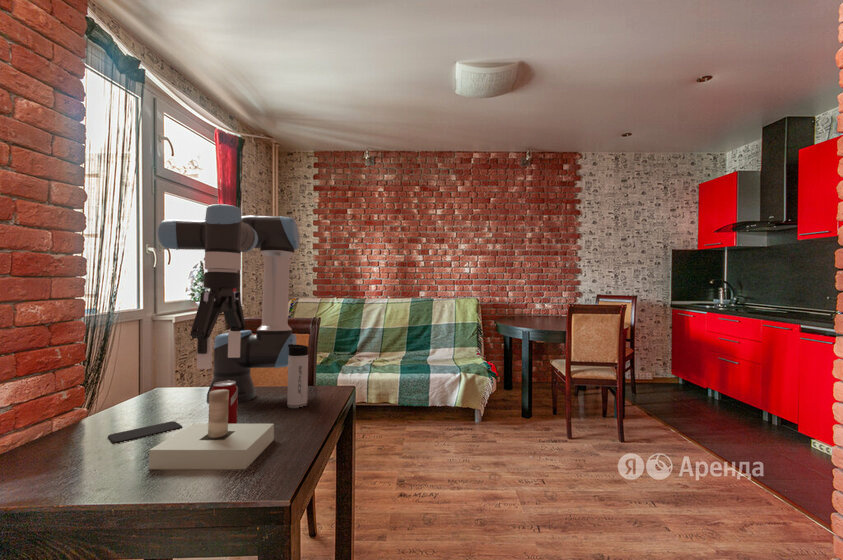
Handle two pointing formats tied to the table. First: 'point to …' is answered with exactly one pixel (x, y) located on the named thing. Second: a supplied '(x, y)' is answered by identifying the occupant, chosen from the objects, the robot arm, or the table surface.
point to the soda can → (232, 398)
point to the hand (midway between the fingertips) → (220, 362)
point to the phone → (143, 432)
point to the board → (212, 448)
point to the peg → (218, 415)
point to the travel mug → (297, 376)
